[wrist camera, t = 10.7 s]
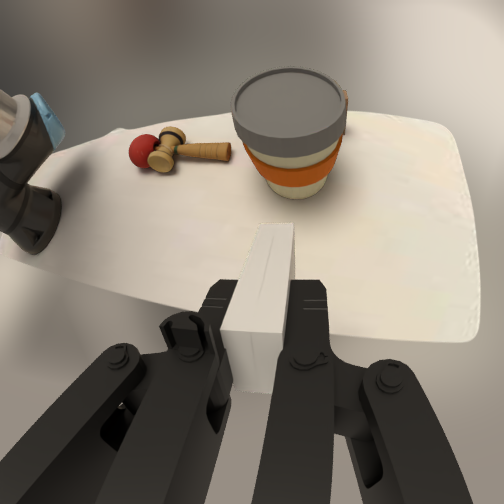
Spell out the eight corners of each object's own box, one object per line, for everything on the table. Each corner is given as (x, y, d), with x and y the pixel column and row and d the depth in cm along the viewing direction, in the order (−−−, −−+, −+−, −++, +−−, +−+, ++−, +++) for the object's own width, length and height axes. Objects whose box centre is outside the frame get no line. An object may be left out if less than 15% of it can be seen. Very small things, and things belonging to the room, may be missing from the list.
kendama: (236, 140, 45) (143, 139, 46) (230, 121, 38) (129, 123, 40) (229, 181, 44) (133, 176, 46) (222, 165, 38) (116, 163, 39)
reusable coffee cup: (327, 221, 36) (335, 153, 22) (241, 198, 39) (208, 130, 25) (346, 150, 39) (355, 75, 25) (270, 134, 42) (252, 61, 28)
